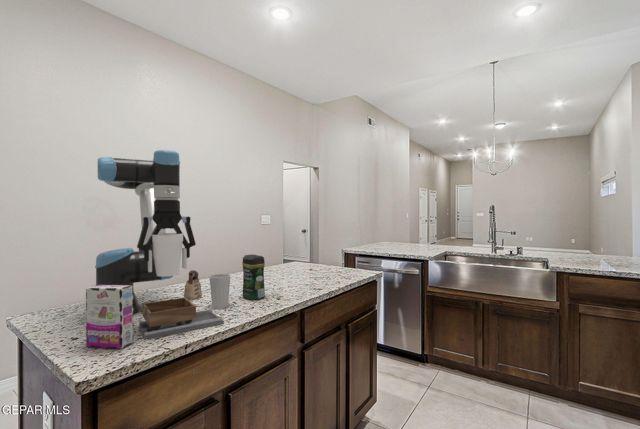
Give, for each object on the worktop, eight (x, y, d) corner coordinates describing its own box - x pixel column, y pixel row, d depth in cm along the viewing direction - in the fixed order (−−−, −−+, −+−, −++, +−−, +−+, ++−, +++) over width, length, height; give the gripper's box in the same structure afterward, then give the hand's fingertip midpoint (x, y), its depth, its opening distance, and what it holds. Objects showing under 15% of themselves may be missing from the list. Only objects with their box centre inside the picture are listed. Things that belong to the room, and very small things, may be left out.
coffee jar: (239, 297, 142) (239, 254, 141) (254, 294, 147) (254, 253, 147) (252, 301, 135) (252, 256, 135) (267, 297, 141) (267, 254, 141)
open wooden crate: (142, 319, 106) (142, 303, 106) (185, 312, 114) (185, 297, 114) (149, 331, 95) (149, 313, 95) (196, 322, 103) (195, 305, 103)
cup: (224, 309, 124) (224, 278, 124) (205, 308, 125) (205, 277, 125) (234, 303, 132) (233, 274, 132) (216, 303, 133) (215, 273, 133)
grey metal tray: (138, 326, 106) (138, 321, 106) (210, 313, 119) (210, 308, 119) (145, 340, 94) (145, 333, 94) (223, 323, 108) (223, 318, 108)
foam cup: (162, 278, 98) (161, 235, 98) (144, 275, 103) (144, 234, 103) (189, 273, 106) (189, 233, 106) (172, 271, 111) (172, 232, 111)
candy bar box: (134, 342, 93) (134, 284, 93) (121, 349, 88) (121, 288, 88) (100, 340, 95) (99, 283, 94) (85, 347, 90) (84, 287, 90)
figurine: (204, 295, 145) (204, 268, 145) (197, 300, 138) (196, 271, 138) (189, 295, 146) (189, 268, 146) (181, 299, 139) (180, 271, 139)
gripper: (128, 198, 95) (129, 275, 95) (205, 199, 108) (206, 267, 108) (125, 199, 101) (126, 271, 101) (199, 200, 114) (199, 264, 114)
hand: (167, 269), depth 104 cm, fingers closed on foam cup, 9 cm apart
